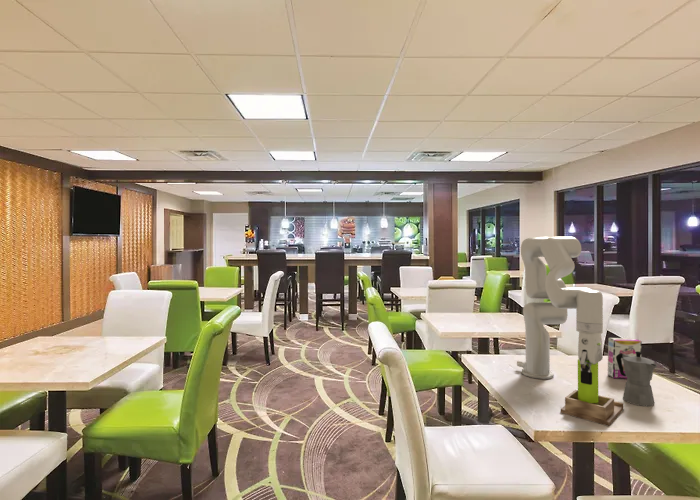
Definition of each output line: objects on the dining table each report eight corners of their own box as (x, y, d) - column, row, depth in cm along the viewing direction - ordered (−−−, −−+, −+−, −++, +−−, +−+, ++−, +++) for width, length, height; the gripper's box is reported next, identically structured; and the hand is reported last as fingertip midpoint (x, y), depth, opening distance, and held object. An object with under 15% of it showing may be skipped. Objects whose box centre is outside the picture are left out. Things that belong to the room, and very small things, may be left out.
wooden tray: (560, 412, 132) (560, 397, 132) (578, 398, 144) (578, 384, 144) (609, 426, 122) (609, 409, 122) (623, 409, 134) (623, 394, 134)
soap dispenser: (594, 405, 126) (594, 343, 126) (574, 398, 133) (573, 339, 133) (605, 402, 129) (605, 341, 129) (584, 395, 135) (584, 337, 135)
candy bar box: (613, 378, 165) (613, 340, 165) (607, 375, 170) (607, 337, 170) (642, 379, 164) (642, 340, 164) (634, 375, 169) (634, 337, 169)
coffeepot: (667, 407, 136) (667, 355, 136) (645, 410, 134) (645, 357, 134) (626, 391, 151) (626, 344, 151) (606, 393, 149) (606, 346, 149)
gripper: (594, 332, 122) (594, 390, 122) (609, 325, 134) (609, 378, 134) (568, 329, 128) (568, 384, 128) (584, 322, 140) (585, 373, 140)
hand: (589, 380), depth 131 cm, fingers closed on soap dispenser, 5 cm apart
